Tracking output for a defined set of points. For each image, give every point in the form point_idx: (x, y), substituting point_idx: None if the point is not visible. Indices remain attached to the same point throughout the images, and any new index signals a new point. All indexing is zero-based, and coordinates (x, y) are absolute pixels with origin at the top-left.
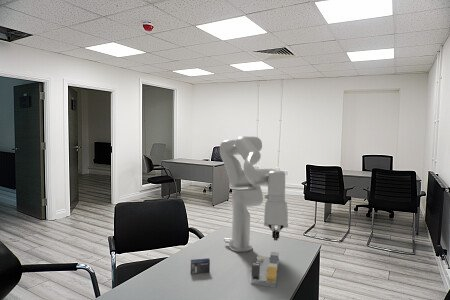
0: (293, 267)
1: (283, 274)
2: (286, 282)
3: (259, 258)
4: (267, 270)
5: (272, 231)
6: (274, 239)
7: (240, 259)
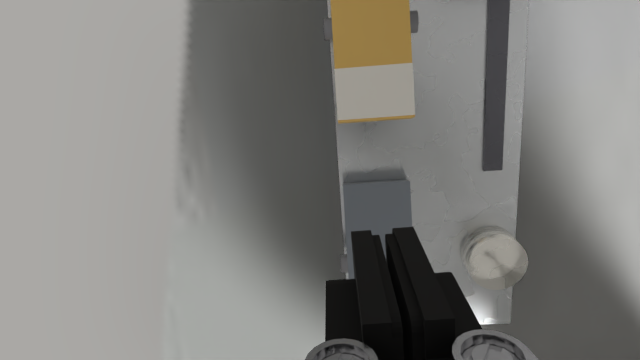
0: (241, 267)
1: (292, 141)
2: (254, 25)
3: (502, 237)
4: (410, 11)
5: (489, 346)
6: (403, 231)
7: (634, 266)
